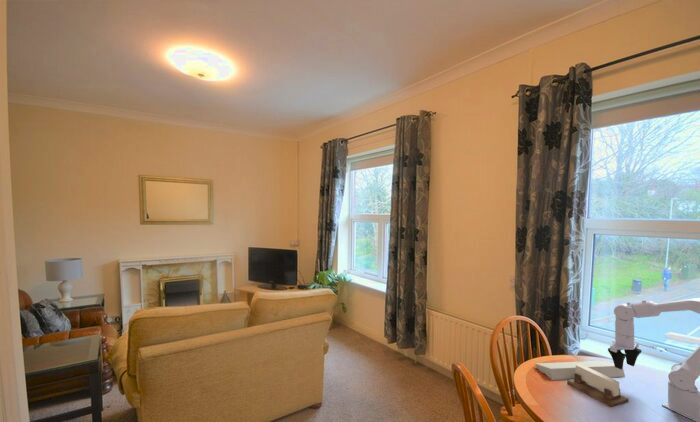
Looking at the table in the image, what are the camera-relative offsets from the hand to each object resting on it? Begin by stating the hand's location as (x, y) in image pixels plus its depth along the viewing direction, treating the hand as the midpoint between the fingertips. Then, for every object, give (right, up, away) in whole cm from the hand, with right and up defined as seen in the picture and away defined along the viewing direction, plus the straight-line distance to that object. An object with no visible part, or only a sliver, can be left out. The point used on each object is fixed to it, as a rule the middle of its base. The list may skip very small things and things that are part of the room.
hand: (624, 366), depth 120 cm
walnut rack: (-13, -9, -2) cm, 16 cm away
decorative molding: (-9, -10, +13) cm, 19 cm away
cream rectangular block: (-13, -7, -2) cm, 15 cm away
